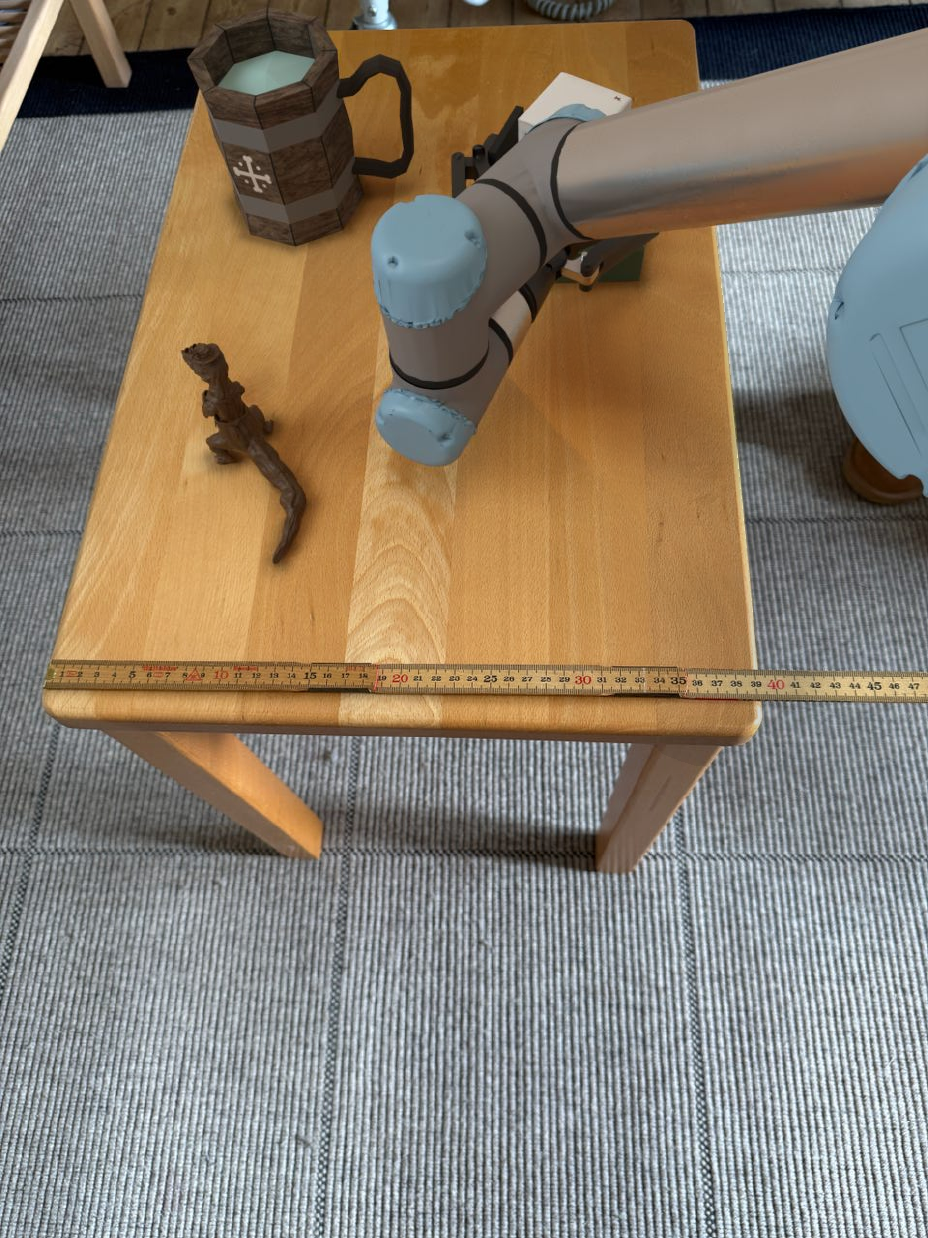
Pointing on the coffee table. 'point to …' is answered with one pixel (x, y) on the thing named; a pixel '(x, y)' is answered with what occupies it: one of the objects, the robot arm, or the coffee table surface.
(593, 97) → the white packaging box
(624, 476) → the coffee table surface
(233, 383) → the brown dinosaur figurine
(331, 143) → the mug
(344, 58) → the coffee table surface
